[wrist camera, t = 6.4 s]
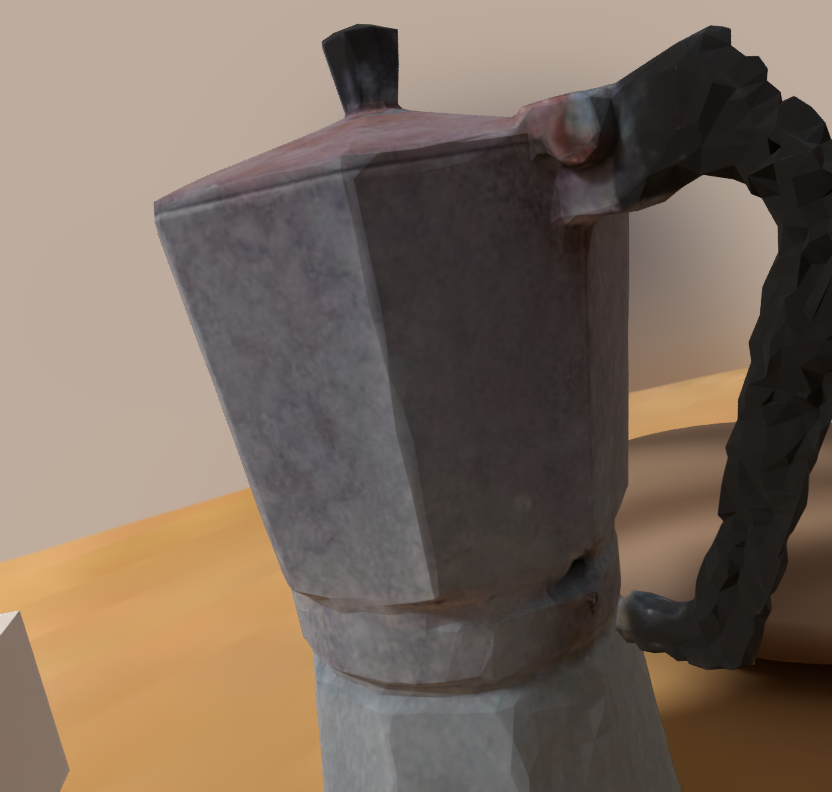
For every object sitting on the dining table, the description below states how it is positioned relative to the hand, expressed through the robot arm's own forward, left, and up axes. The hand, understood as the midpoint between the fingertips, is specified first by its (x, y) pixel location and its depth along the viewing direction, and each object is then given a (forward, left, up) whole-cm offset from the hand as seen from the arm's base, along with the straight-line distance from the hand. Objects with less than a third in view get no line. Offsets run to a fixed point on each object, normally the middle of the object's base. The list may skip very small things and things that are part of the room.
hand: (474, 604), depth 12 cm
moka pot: (+4, -1, -11) cm, 12 cm away
